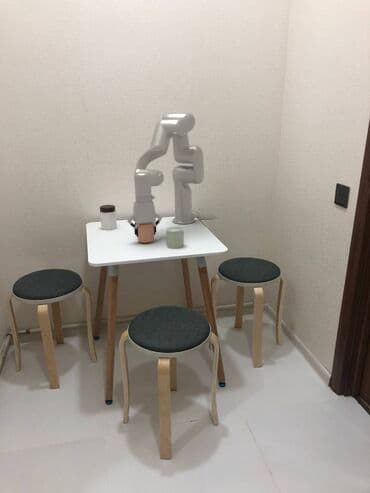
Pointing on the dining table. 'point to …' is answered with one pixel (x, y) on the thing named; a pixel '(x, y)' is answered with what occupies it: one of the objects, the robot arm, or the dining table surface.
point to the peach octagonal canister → (145, 232)
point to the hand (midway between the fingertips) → (145, 234)
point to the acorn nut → (174, 237)
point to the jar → (108, 217)
